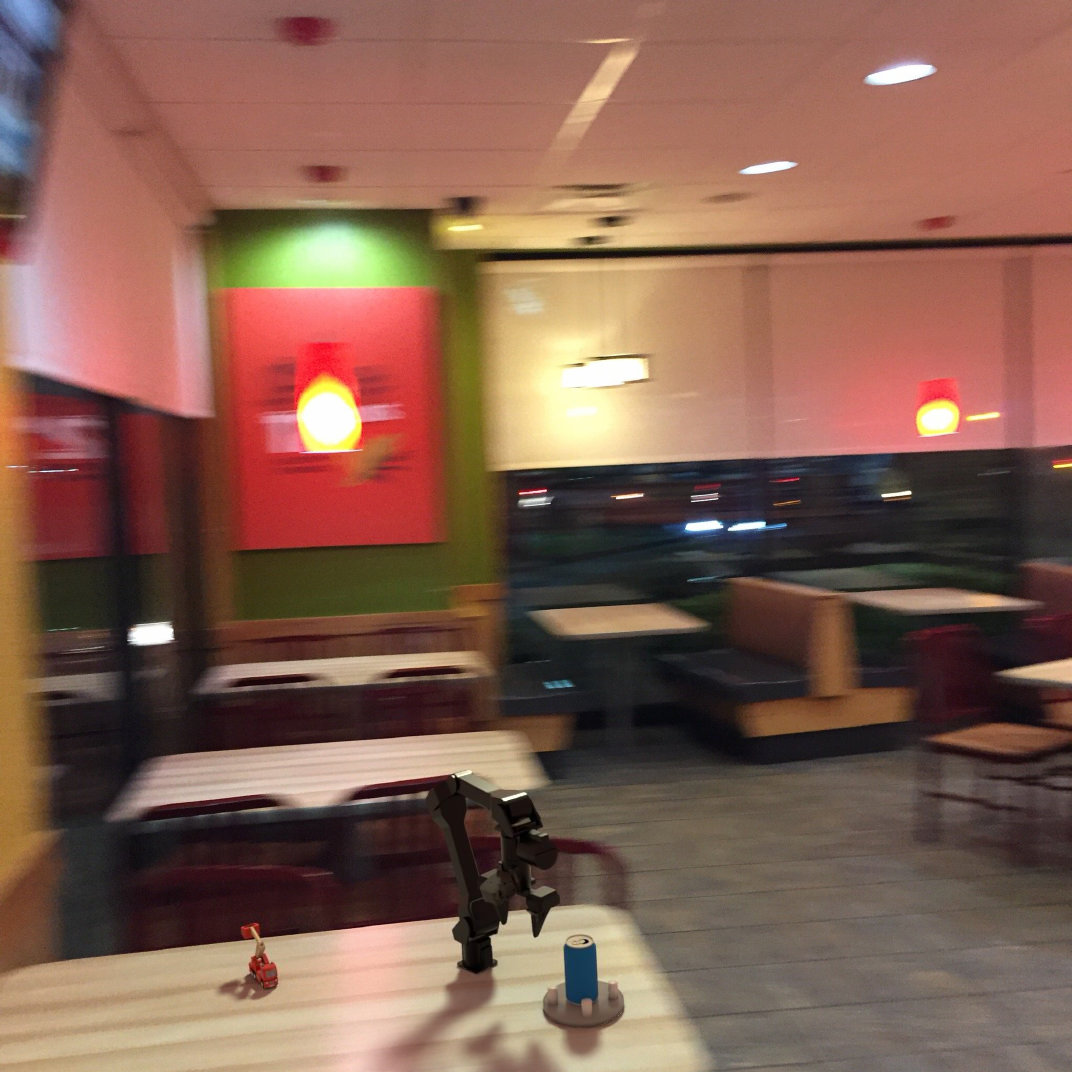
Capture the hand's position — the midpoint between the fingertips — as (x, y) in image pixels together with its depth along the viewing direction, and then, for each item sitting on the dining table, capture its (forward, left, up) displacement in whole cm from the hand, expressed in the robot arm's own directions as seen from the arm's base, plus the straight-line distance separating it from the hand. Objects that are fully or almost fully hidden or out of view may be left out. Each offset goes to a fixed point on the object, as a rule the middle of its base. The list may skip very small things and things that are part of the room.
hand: (519, 930), depth 211 cm
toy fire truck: (-49, -31, -13) cm, 60 cm away
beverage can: (+13, +4, -12) cm, 18 cm away
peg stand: (+13, +4, -13) cm, 19 cm away
